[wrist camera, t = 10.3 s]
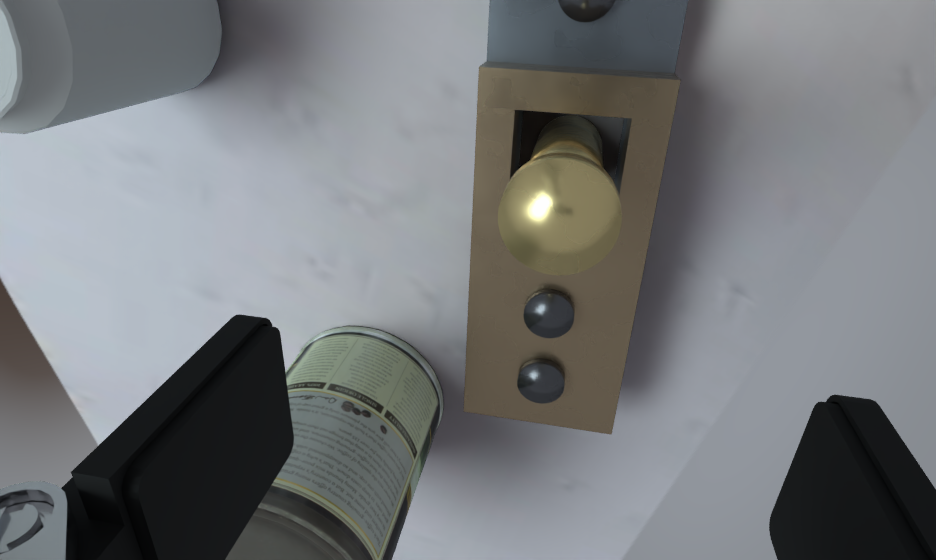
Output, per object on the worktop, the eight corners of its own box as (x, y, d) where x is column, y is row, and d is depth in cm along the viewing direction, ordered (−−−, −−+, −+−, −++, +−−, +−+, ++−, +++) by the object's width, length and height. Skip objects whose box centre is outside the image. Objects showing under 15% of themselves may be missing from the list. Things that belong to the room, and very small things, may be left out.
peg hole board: (508, -215, 23) (490, -257, 19) (721, -216, 22) (750, -261, 18) (476, 369, 36) (461, 418, 32) (609, 388, 35) (611, 442, 31)
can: (249, -21, 28) (45, -24, 18) (210, 117, 32) (21, 183, 21) (107, -104, 28) (-190, -158, 17) (84, 45, 31) (-174, 77, 21)
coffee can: (455, 455, 39) (392, 672, 27) (314, 449, 42) (196, 647, 29) (433, 322, 35) (346, 508, 23) (276, 324, 37) (119, 493, 25)
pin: (529, 101, 28) (501, 154, 19) (619, 107, 28) (631, 166, 19) (522, 185, 30) (494, 268, 21) (605, 193, 30) (611, 281, 21)
